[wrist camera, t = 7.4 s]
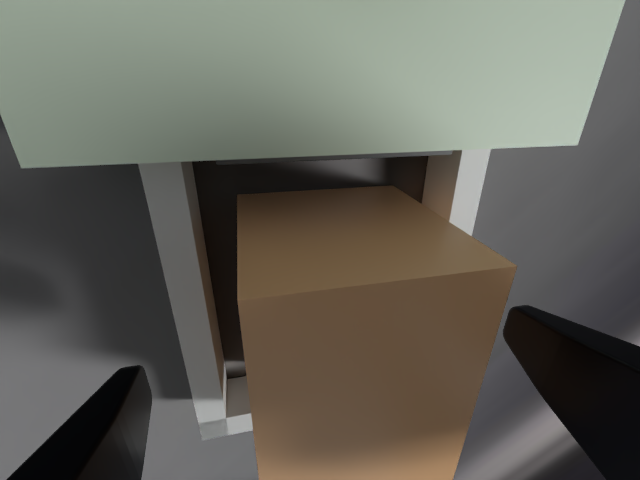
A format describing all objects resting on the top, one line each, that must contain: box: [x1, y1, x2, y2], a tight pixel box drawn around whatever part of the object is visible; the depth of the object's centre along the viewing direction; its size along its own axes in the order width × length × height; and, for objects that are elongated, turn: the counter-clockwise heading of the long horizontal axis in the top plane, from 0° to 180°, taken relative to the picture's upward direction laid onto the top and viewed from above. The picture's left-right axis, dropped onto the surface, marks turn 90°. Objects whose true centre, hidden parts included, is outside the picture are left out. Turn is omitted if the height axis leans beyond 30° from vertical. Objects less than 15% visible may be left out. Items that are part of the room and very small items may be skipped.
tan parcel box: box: [237, 185, 517, 480], centre depth 8 cm, size 6×4×5 cm
